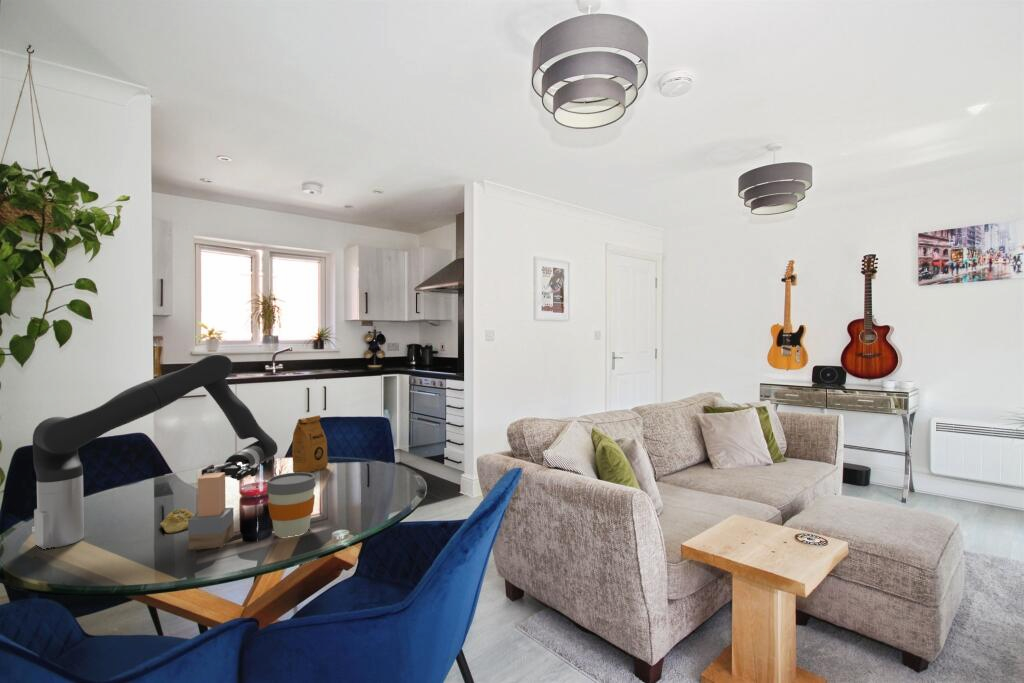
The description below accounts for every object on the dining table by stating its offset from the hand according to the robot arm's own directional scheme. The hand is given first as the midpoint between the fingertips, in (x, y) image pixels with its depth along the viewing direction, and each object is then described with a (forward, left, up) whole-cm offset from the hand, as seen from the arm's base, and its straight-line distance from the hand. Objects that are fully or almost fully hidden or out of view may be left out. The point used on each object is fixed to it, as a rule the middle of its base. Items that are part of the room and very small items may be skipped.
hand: (221, 477), depth 140 cm
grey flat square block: (-5, -3, -12) cm, 13 cm away
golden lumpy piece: (-3, +17, -16) cm, 23 cm away
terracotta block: (-4, -3, -8) cm, 10 cm away
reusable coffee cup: (+10, -16, -16) cm, 25 cm away
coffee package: (+55, +34, -16) cm, 67 cm away
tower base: (-5, -4, -16) cm, 17 cm away
